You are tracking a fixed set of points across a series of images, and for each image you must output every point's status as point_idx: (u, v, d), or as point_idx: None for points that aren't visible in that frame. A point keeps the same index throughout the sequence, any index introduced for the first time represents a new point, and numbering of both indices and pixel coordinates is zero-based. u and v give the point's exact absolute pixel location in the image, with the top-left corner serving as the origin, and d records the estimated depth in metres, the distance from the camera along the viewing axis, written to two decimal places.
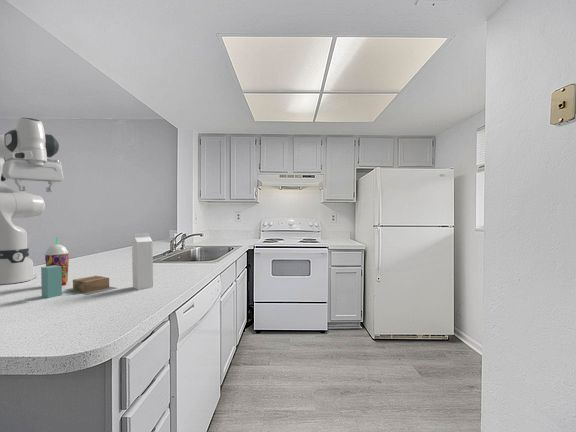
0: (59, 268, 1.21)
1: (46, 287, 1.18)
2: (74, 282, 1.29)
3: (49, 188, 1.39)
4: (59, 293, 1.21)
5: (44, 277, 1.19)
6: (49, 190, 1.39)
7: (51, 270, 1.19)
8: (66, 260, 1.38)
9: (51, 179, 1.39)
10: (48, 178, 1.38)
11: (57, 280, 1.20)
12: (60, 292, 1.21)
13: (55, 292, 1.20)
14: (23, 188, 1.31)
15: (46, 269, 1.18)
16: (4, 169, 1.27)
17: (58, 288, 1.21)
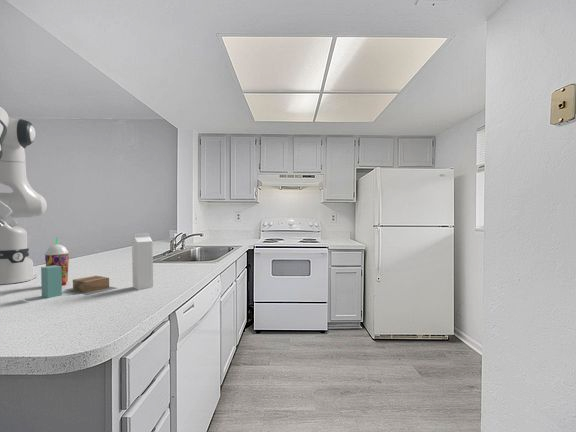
0: (59, 268, 1.21)
1: (46, 287, 1.18)
2: (74, 282, 1.29)
3: (8, 224, 1.06)
4: (58, 293, 1.21)
5: (44, 277, 1.19)
6: (11, 226, 1.07)
7: (51, 270, 1.19)
8: (66, 260, 1.38)
9: None
10: None
11: (57, 280, 1.20)
12: (60, 292, 1.21)
13: (55, 292, 1.20)
14: None
15: (46, 269, 1.18)
16: None
17: (58, 288, 1.21)
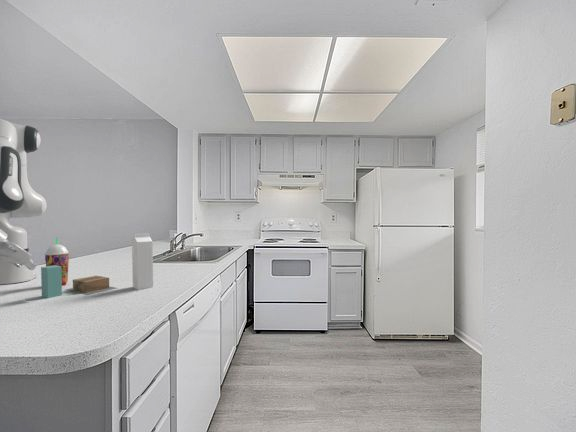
0: (59, 268, 1.21)
1: (46, 287, 1.18)
2: (74, 282, 1.29)
3: (27, 267, 1.11)
4: (58, 293, 1.21)
5: (44, 277, 1.19)
6: (30, 269, 1.11)
7: (51, 270, 1.19)
8: (66, 260, 1.38)
9: (17, 263, 1.07)
10: (14, 262, 1.08)
11: (57, 280, 1.20)
12: (60, 292, 1.21)
13: (55, 292, 1.20)
14: (16, 266, 1.15)
15: (46, 269, 1.18)
16: None
17: (58, 288, 1.21)
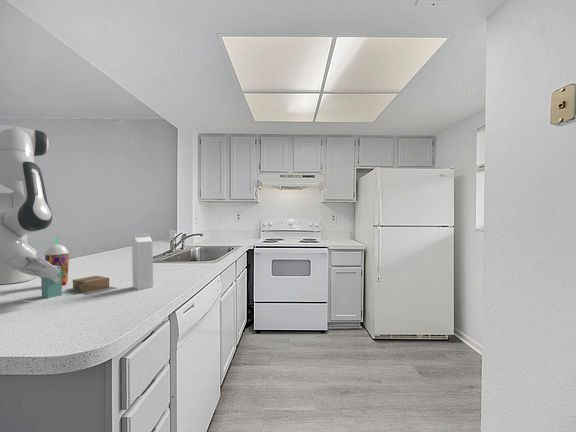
0: (59, 268, 1.21)
1: (46, 287, 1.18)
2: (74, 282, 1.29)
3: None
4: (58, 293, 1.21)
5: None
6: (54, 282, 1.19)
7: None
8: (66, 260, 1.38)
9: (45, 277, 1.15)
10: (43, 277, 1.15)
11: None
12: (60, 292, 1.21)
13: (55, 292, 1.20)
14: None
15: None
16: None
17: (58, 288, 1.21)
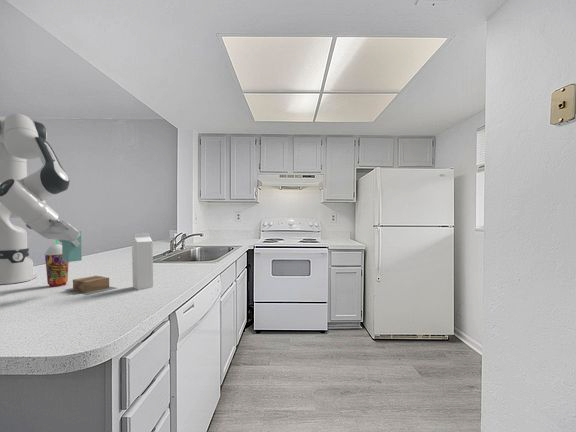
0: None
1: (67, 251, 1.23)
2: (74, 282, 1.29)
3: (73, 244, 1.23)
4: (78, 257, 1.26)
5: (65, 241, 1.24)
6: None
7: None
8: None
9: (67, 240, 1.19)
10: (64, 239, 1.20)
11: None
12: (80, 256, 1.26)
13: (75, 256, 1.25)
14: None
15: None
16: None
17: (78, 252, 1.25)
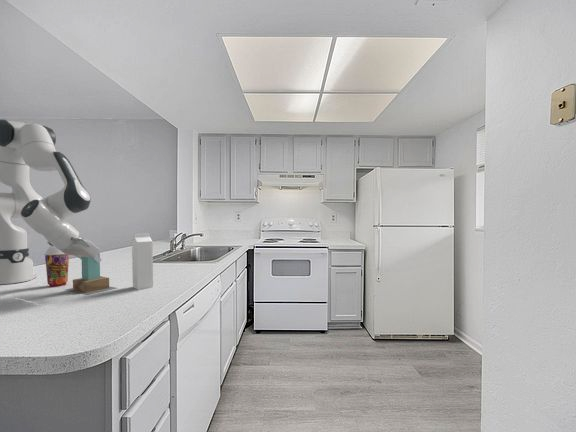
0: None
1: (86, 270, 1.28)
2: (74, 282, 1.29)
3: (95, 260, 1.28)
4: (97, 275, 1.31)
5: (84, 260, 1.29)
6: None
7: None
8: (66, 260, 1.38)
9: (87, 256, 1.25)
10: (84, 256, 1.25)
11: (96, 263, 1.31)
12: (98, 274, 1.31)
13: (94, 274, 1.30)
14: None
15: None
16: None
17: (97, 270, 1.31)
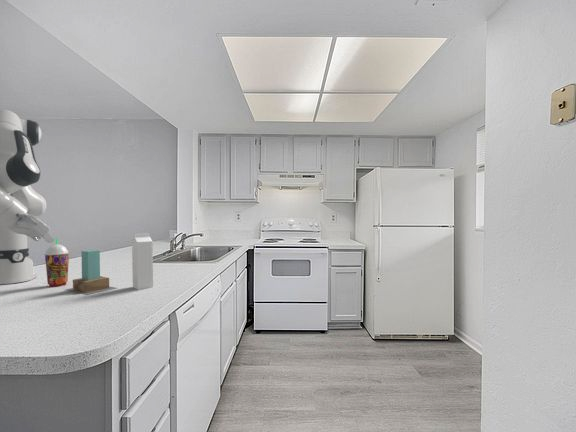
0: (98, 252, 1.31)
1: (86, 270, 1.28)
2: (74, 282, 1.29)
3: (46, 240, 1.16)
4: (97, 275, 1.31)
5: (84, 260, 1.29)
6: (48, 242, 1.16)
7: (91, 254, 1.29)
8: (66, 260, 1.38)
9: (36, 235, 1.12)
10: (33, 235, 1.13)
11: (96, 263, 1.31)
12: (98, 274, 1.31)
13: (94, 274, 1.30)
14: (34, 239, 1.20)
15: (86, 252, 1.28)
16: None
17: (97, 270, 1.31)
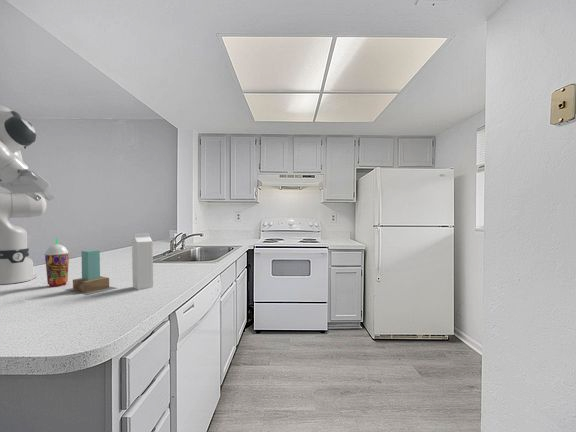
0: (98, 252, 1.31)
1: (86, 270, 1.28)
2: (74, 282, 1.29)
3: (46, 198, 1.21)
4: (97, 275, 1.31)
5: (84, 260, 1.29)
6: (48, 199, 1.22)
7: (91, 254, 1.29)
8: (66, 260, 1.38)
9: (37, 192, 1.18)
10: (34, 191, 1.18)
11: (96, 263, 1.31)
12: (98, 274, 1.31)
13: (94, 274, 1.30)
14: (35, 199, 1.26)
15: (86, 252, 1.28)
16: None
17: (97, 270, 1.31)
